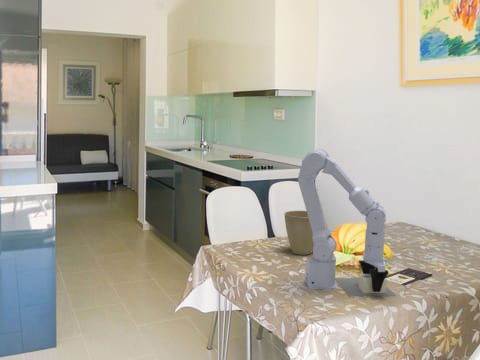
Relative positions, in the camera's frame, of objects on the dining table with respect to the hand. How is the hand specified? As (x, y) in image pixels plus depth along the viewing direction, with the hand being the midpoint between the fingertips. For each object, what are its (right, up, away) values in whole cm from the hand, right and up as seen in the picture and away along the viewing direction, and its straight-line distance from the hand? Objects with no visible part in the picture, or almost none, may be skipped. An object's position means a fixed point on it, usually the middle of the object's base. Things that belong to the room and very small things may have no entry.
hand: (372, 287), depth 154 cm
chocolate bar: (+16, -1, +15) cm, 22 cm away
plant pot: (-17, +4, +44) cm, 47 cm away
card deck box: (0, -1, 0) cm, 1 cm away
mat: (-2, -1, +3) cm, 4 cm away
